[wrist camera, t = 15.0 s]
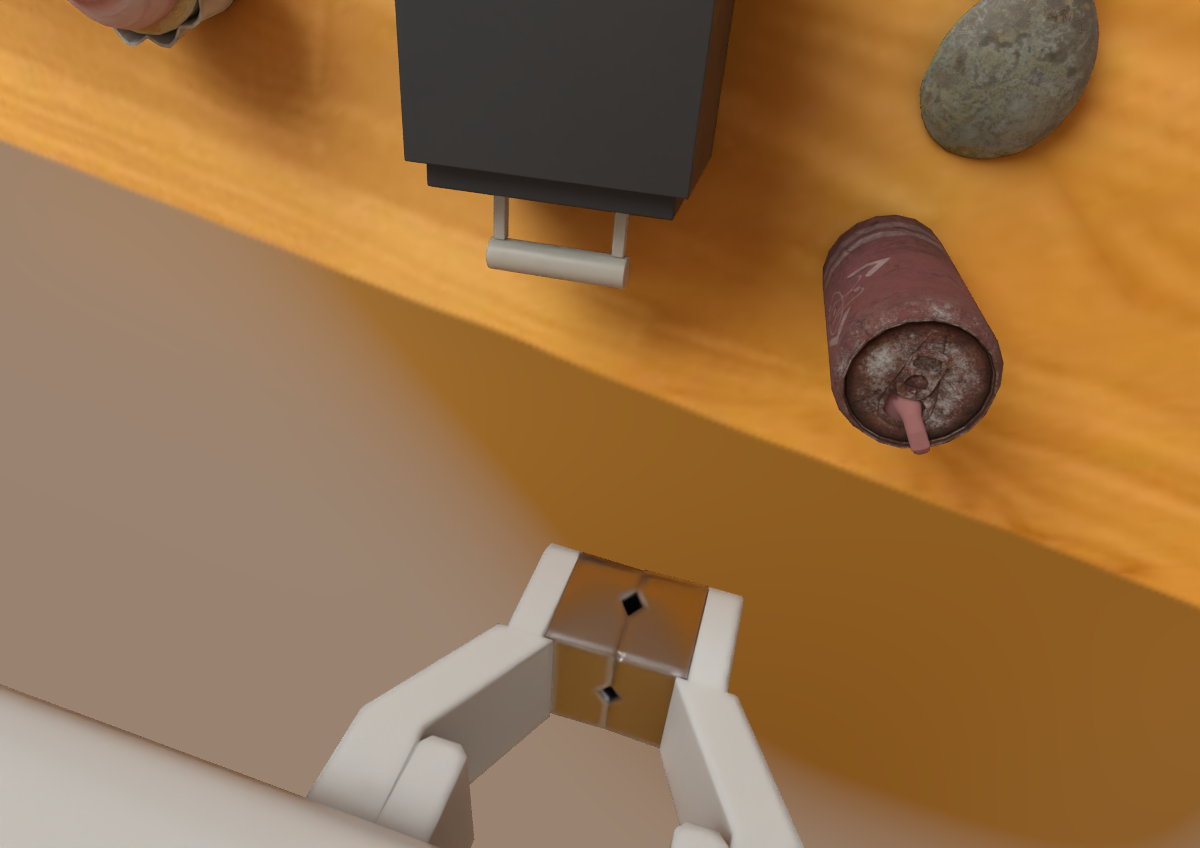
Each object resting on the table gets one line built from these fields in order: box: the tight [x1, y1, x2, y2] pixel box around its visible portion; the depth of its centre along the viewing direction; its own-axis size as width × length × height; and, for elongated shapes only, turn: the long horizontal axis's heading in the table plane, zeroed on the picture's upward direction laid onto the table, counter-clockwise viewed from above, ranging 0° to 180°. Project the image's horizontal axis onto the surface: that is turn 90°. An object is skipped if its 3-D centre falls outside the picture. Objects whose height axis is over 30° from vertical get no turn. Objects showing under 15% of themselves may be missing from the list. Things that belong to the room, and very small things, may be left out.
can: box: [823, 215, 1003, 455], centre depth 33 cm, size 6×6×14 cm
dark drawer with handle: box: [427, 164, 684, 289], centre depth 33 cm, size 18×11×8 cm, turn 175°
